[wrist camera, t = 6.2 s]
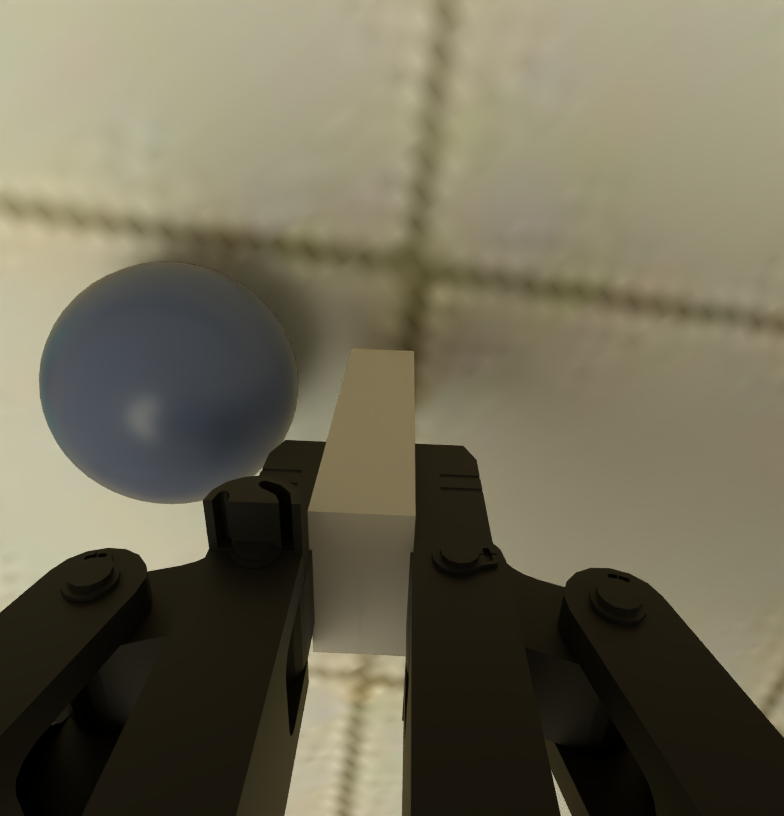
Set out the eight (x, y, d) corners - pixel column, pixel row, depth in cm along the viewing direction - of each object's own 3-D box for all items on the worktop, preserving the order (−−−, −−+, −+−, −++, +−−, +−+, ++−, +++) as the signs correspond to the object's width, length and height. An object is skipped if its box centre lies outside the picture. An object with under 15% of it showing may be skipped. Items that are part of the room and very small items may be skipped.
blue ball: (-34, 277, 9) (73, 235, 14) (12, 558, 11) (92, 435, 16) (311, 302, 10) (299, 255, 15) (296, 553, 12) (289, 440, 17)
